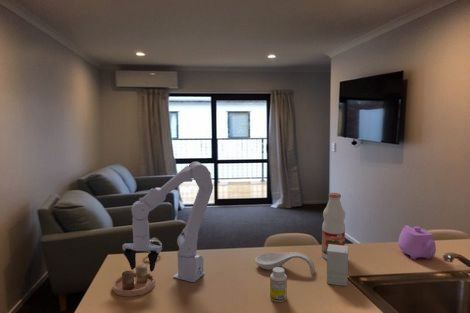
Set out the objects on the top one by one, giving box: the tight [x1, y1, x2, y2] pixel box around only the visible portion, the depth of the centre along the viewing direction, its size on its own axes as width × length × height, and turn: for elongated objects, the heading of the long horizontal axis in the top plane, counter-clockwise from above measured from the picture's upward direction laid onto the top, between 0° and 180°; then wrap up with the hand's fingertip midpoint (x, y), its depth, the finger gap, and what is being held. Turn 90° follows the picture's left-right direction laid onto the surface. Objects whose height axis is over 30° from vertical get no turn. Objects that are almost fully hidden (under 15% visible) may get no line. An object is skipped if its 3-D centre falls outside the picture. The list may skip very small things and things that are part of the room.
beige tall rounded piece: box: [135, 263, 148, 284], centre depth 125 cm, size 4×4×6 cm
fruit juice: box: [321, 192, 346, 260], centre depth 146 cm, size 9×9×28 cm
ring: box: [146, 237, 163, 254], centre depth 150 cm, size 7×3×8 cm, turn 95°
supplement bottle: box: [269, 266, 288, 303], centre depth 114 cm, size 6×6×10 cm
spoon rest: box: [254, 251, 315, 276], centre depth 137 cm, size 24×12×7 cm, turn 73°
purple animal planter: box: [398, 225, 437, 260], centre depth 148 cm, size 20×12×13 cm, turn 4°
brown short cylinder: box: [121, 270, 135, 290], centre depth 120 cm, size 4×4×6 cm
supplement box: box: [326, 244, 349, 287], centre depth 126 cm, size 7×7×13 cm
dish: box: [112, 271, 156, 298], centre depth 123 cm, size 15×15×2 cm
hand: (142, 269), depth 126 cm, fingers open, 7 cm apart
